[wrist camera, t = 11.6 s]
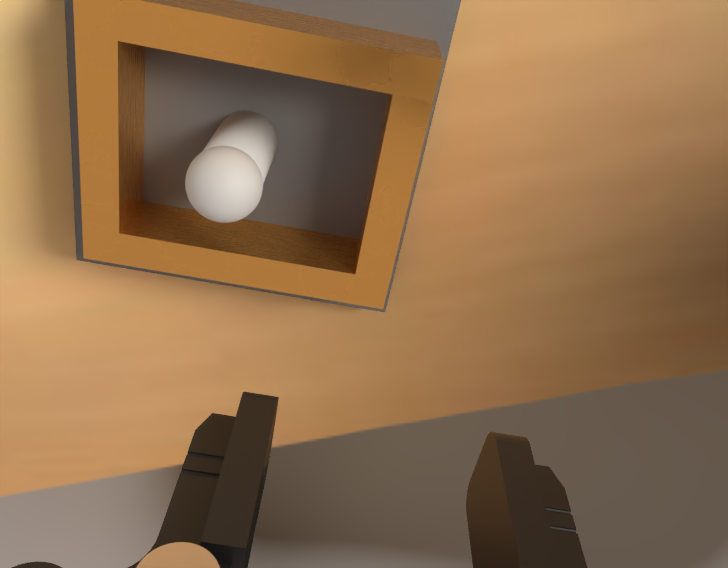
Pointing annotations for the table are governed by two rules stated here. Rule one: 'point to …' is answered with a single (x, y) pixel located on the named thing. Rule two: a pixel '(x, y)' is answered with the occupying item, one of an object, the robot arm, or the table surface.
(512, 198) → the table surface
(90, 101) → the link ring
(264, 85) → the plate
